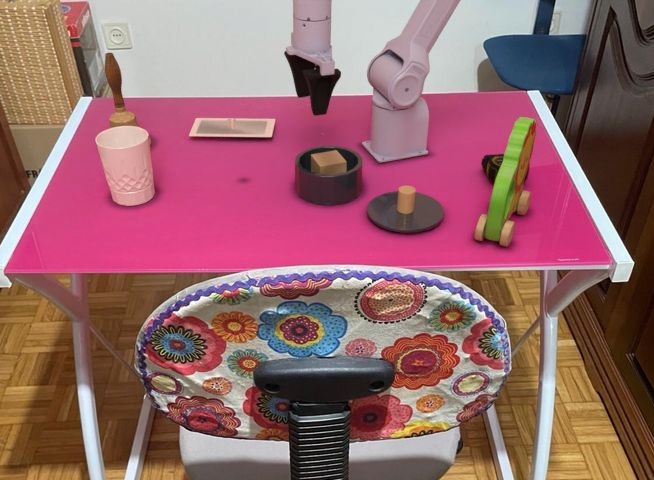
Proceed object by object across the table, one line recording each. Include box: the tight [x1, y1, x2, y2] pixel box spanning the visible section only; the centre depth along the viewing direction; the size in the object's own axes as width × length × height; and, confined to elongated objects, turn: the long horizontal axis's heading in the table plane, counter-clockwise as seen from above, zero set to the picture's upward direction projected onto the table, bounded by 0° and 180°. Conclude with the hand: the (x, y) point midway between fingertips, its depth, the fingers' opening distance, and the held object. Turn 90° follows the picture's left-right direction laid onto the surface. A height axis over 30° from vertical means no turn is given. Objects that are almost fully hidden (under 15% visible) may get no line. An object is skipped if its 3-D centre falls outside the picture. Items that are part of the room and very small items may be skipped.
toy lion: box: [473, 116, 537, 248], centre depth 104 cm, size 16×5×15 cm, turn 155°
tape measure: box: [480, 153, 531, 183], centre depth 117 cm, size 7×7×4 cm
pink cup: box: [95, 126, 156, 207], centre depth 112 cm, size 8×8×10 cm
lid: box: [366, 184, 445, 234], centre depth 109 cm, size 12×12×4 cm
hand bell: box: [104, 52, 152, 146], centre depth 124 cm, size 8×8×16 cm
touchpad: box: [188, 117, 276, 138], centre depth 132 cm, size 8×15×2 cm, turn 88°
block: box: [311, 150, 347, 175], centre depth 115 cm, size 4×4×5 cm
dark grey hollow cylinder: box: [294, 145, 363, 206], centre depth 115 cm, size 11×11×5 cm
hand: (311, 105), depth 116 cm, fingers open, 7 cm apart
